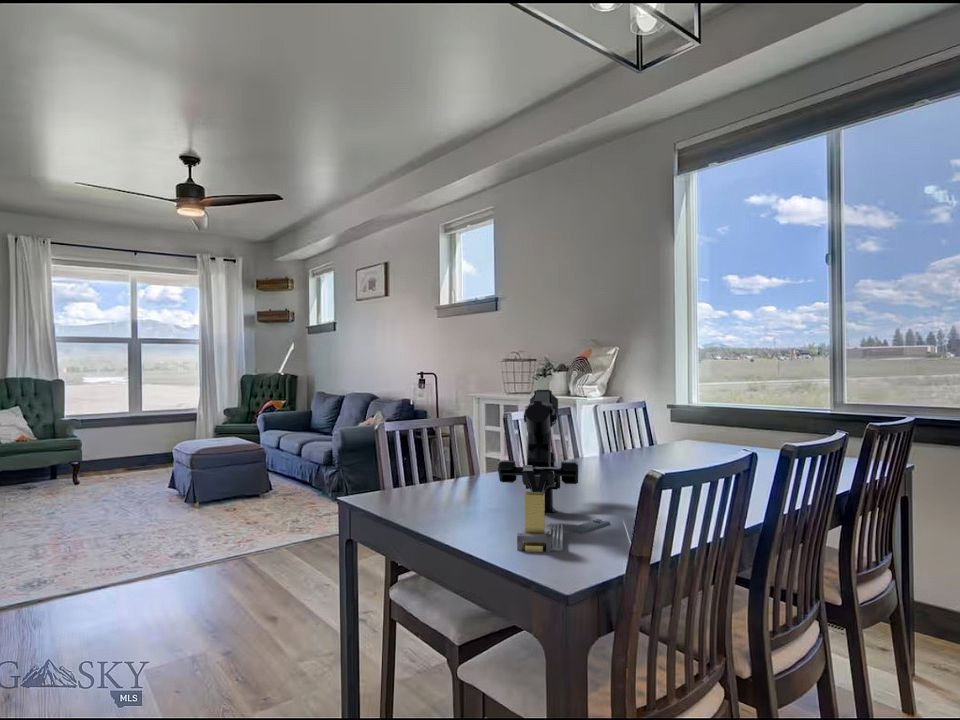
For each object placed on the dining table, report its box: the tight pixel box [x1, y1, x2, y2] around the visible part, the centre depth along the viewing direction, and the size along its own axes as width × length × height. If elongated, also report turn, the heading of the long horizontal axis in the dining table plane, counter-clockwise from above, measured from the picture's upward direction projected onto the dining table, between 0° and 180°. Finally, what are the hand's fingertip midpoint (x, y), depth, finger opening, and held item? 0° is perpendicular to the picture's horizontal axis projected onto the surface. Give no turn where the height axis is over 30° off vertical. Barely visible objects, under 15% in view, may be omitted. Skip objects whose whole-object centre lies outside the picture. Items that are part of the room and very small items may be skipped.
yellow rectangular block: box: [524, 491, 546, 553], centre depth 124 cm, size 6×4×11 cm, turn 171°
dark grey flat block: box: [570, 518, 611, 534], centre depth 137 cm, size 4×10×2 cm, turn 132°
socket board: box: [516, 522, 564, 553], centre depth 128 cm, size 16×12×4 cm
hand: (537, 504), depth 133 cm, fingers closed
